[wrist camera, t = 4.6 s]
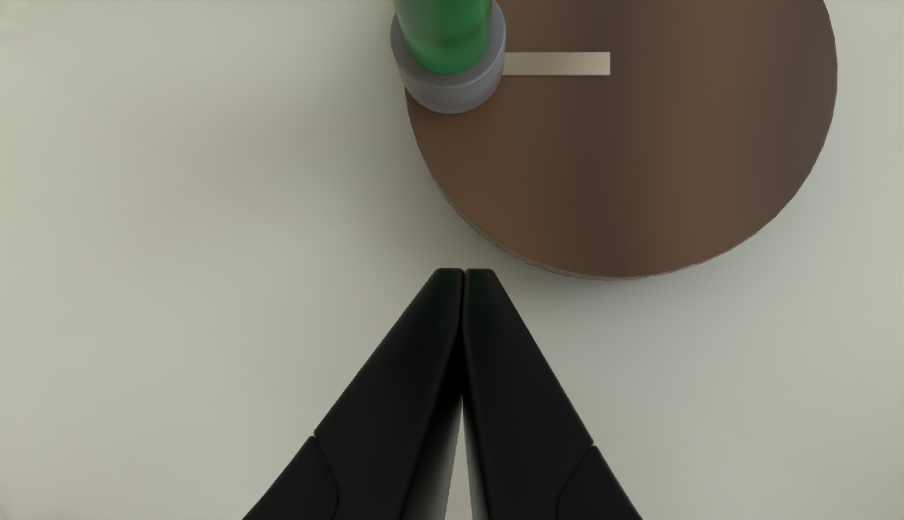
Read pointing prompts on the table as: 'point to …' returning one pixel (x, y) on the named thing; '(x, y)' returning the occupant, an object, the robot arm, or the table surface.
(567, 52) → the disc
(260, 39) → the table surface
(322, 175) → the table surface
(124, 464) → the table surface
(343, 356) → the table surface
